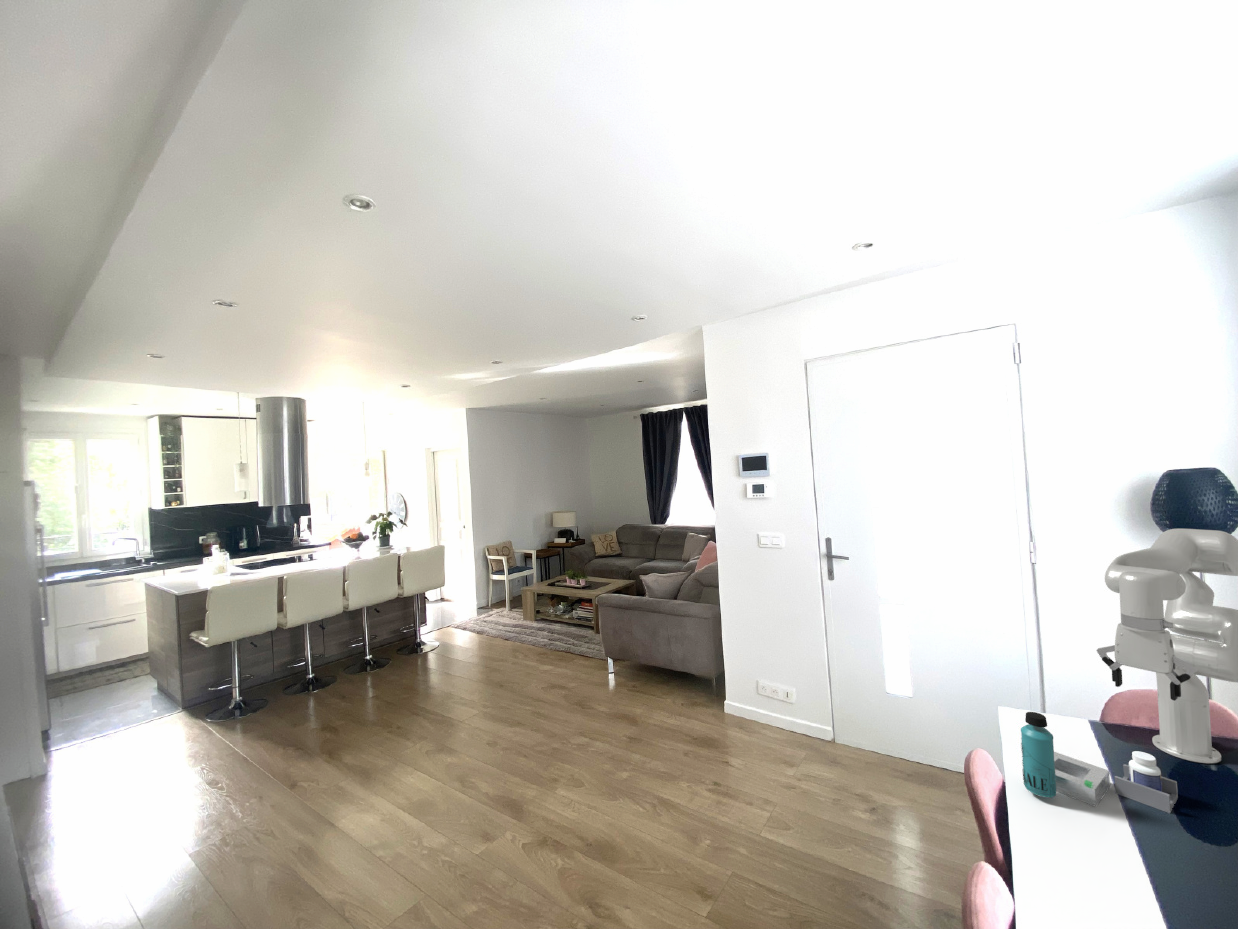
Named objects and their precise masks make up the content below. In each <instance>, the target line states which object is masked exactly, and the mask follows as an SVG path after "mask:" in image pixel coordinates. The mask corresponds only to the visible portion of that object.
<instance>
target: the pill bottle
mask: <svg viewBox="0 0 1238 929" xmlns="http://www.w3.org/2000/svg"><path fill="white" fill-rule="evenodd" d="M1131 754H1132V755H1131V758H1132V759H1130V760H1129V762H1128V765H1129V775H1130V781H1132V782H1135V783H1138V784H1141V785H1144V786H1146V787H1149V788H1152V789H1155V790H1158V791H1161V792H1162V782H1161V776H1162V772H1161V769H1160V767H1158V766H1157V759H1156V757H1155V756H1153V755H1152V754H1151V753H1147V752H1144V751H1138V750H1137V751H1136V750H1135V751H1132V752H1131Z"/></svg>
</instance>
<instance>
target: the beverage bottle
mask: <svg viewBox="0 0 1238 929" xmlns="http://www.w3.org/2000/svg"><path fill="white" fill-rule="evenodd" d="M1024 721H1025V723H1026V725H1024V726H1022V727H1021V728H1020V735H1021V738H1020V741H1021V742H1020V749H1021V751H1020V753H1021V758H1022V759H1021V764H1022V767H1021V768H1022V777H1023V778H1022V780H1023V782H1022V783H1023V786H1024V788H1025V789H1026V790H1027V791H1028V792H1030V793H1031V794H1034V795H1036V796H1038V797H1043V798H1054V797H1056V796H1057V791H1056V777H1055V776H1056V774H1055V765H1054V752H1055V749H1054V748H1055V747H1054V735H1053V734H1052V733H1051V732H1050V731H1049V730H1048V729H1047V727H1048V721H1047V717H1046V716H1045V715H1044V714H1042V713H1039V712H1035V711H1027V712H1025V720H1024Z"/></svg>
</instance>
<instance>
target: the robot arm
mask: <svg viewBox="0 0 1238 929" xmlns="http://www.w3.org/2000/svg"><path fill="white" fill-rule="evenodd" d="M1195 573H1202V574H1208V575H1209V574H1210V575H1211V574H1212V575H1220V576H1230V577H1238V539H1237V537H1235V536H1234V535H1232V534H1231V533H1228V532H1226V531H1223V530H1217V529H1216V530H1214V529H1213V530H1212V529H1199V528H1198V529H1196V528H1172V529H1171V528H1170V529H1167V530H1165V531H1163V532H1162V533H1161V534H1160V535H1158V537H1157V539H1156V540H1155V541H1154V543H1153V544H1152V545H1151V546H1150V547H1149V548H1144V549H1140V550H1135V551H1130V552H1127V553H1123V554H1121V555H1119V556H1116V557H1115V558H1114V560H1112V562H1111V563H1109V566H1108V567H1107V569H1106V571H1105V574H1104V583H1105V586H1106V587H1107V588H1108V590H1110V591H1112V592H1113V593H1116V594H1119V607H1120V608H1119V609H1120V610H1119V611H1120V622H1119V623H1118V624H1117V626H1116V631H1115V637H1114V638H1115V640H1114V644H1113V645H1108V646H1103V647H1099V648H1097V649H1096V652H1097V654H1098V656H1099V657H1100V659H1101V660H1102V661H1103V663H1104V664H1106V666H1108V667H1109V669H1110V670H1111V679H1112V682H1114V686H1115V687H1117V688H1119V687H1121V686H1122V685H1123V672H1122V671H1123V670H1122V669H1121V667H1122V666H1125V667H1129V668H1134V669H1139V670H1143V671H1149V672H1153V673H1155V675H1156V676H1155V677H1156V689H1157V708H1158V725H1159V734H1156V735H1154V736H1152V744H1153V745H1154V746H1155V747H1156V748H1158V749H1159V750H1160V751H1162V752H1164V753H1167V754H1168V755H1170V756H1173V757H1176V758H1179V759H1182V760H1186V761H1190V762H1194V763H1200V764H1201V763H1202V764H1218V763H1220V762H1221V761H1222V754H1221V753H1220V752H1219V750H1217V749H1215V748H1214V747H1213V746H1212V733H1211V732H1212V731H1211V728H1212V727H1211V712H1210V695H1209V691H1208V689H1207V687H1206V685H1205V684H1204V683H1203V681H1202V680H1201V679H1200V678H1199V677H1198V676H1202V677H1205V678H1210V679H1214V680H1215V679H1216V680H1219V681H1223V682H1224V681H1225V682H1229V683H1230V682H1231V683H1238V609H1236V608H1231V607H1224V606H1218V605H1214V601H1215V593H1214V591H1213V589H1212V588H1211V587H1210V586H1209V585H1208V584H1207V583H1206V582H1205V581H1204V580H1203V579H1201V577H1199V576H1197V575H1196V574H1195ZM1164 601H1167V602H1166V605H1165V606H1166V607H1165V609H1164ZM1164 610H1165V612H1164ZM1167 629H1168V630H1167ZM1170 632H1172V633H1170ZM1113 652H1114V660H1115V661H1113V659H1112V658H1111V657H1109V656H1108V653H1113Z"/></svg>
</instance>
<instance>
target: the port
mask: <svg viewBox="0 0 1238 929" xmlns="http://www.w3.org/2000/svg"><path fill="white" fill-rule="evenodd" d="M1054 765H1055V774H1056V776H1055V777H1056V793H1057V792H1058V793H1060V794H1062V795H1065V796H1068V797H1070V798H1072V799H1075V800H1077V801H1080V802H1081V803H1082V802H1083V803H1085V804H1088V805H1091V806H1092V807H1097V806H1098V804H1099V802H1100V801H1101V800H1102V799H1103V797H1104V796H1105V795H1106V793H1107V792H1106V791H1108V790H1109V789H1110V787H1111V782H1110V781H1111V780H1110V770H1108V769H1105V768H1103V767H1100V766H1097V765H1094V764H1091V763H1088V762H1085V761H1082V760H1079V759H1077V758H1074V757H1070V756H1068V755H1065V754H1063V753H1059V752H1057V751H1054ZM1101 798H1102V799H1101Z"/></svg>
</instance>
